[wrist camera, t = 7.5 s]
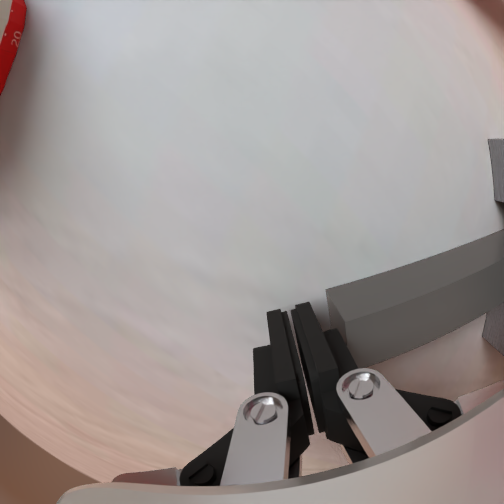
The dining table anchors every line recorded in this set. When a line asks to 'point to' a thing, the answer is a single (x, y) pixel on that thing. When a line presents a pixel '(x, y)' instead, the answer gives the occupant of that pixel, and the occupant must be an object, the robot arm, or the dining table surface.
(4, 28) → the kitchen timer
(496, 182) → the block
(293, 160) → the dining table surface
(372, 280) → the yellow tipped gray bar
